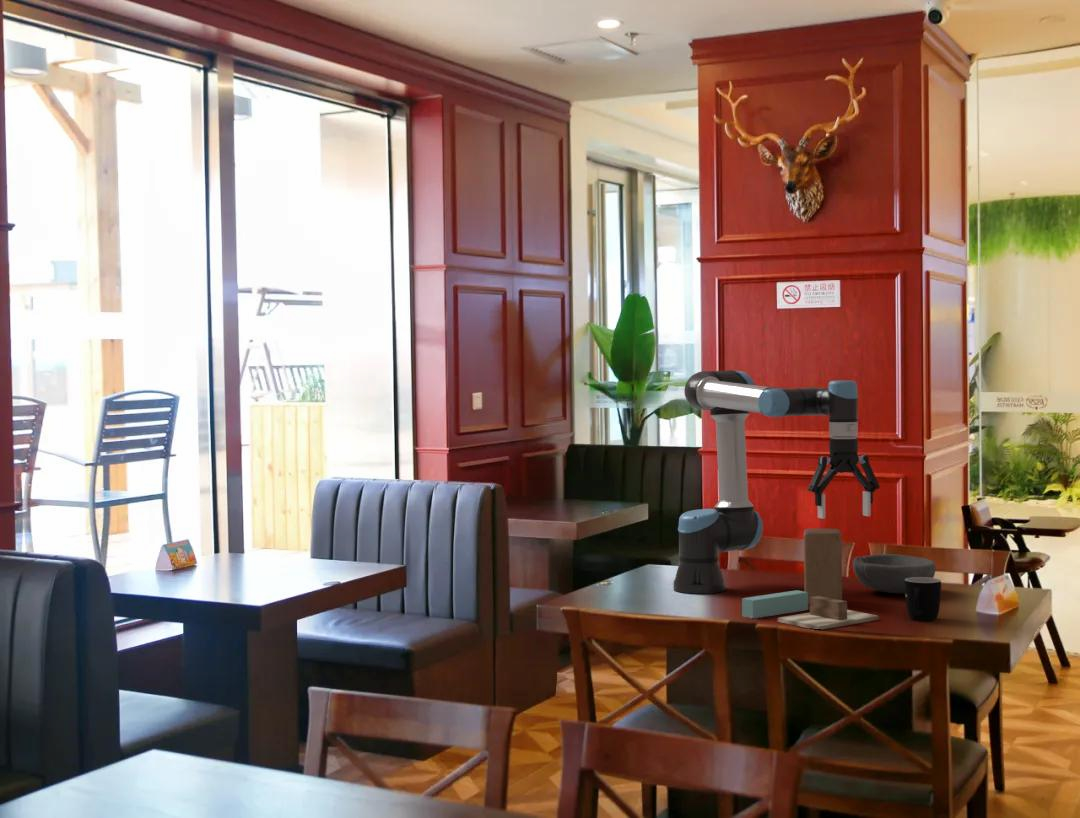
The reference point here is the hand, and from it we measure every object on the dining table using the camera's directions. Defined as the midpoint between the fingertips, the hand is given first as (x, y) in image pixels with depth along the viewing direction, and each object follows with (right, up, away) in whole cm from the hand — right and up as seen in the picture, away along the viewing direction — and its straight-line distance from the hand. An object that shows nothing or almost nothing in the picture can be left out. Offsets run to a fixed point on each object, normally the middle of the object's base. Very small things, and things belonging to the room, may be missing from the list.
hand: (844, 517), depth 338 cm
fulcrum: (-8, -25, -15) cm, 30 cm away
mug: (+16, -25, -16) cm, 34 cm away
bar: (-19, -26, -3) cm, 32 cm away
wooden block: (-3, -25, +11) cm, 27 cm away
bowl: (+20, -24, +24) cm, 40 cm away
